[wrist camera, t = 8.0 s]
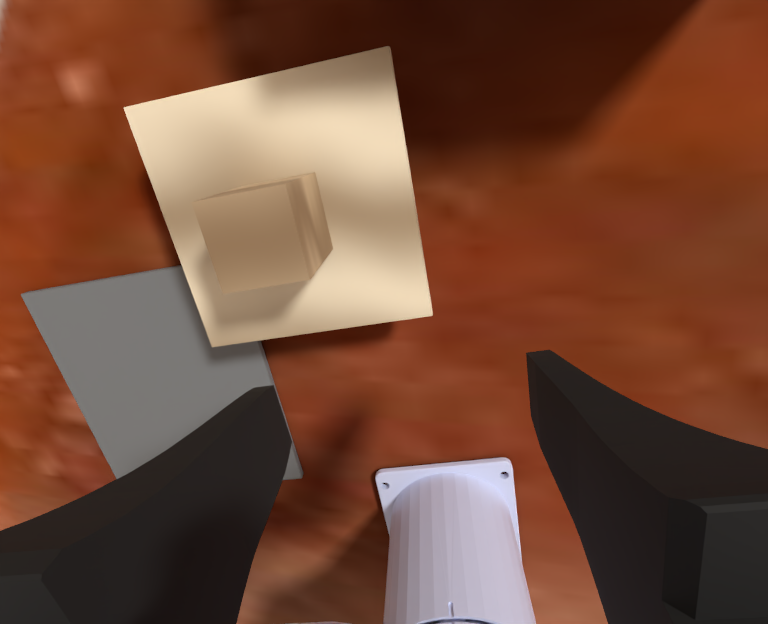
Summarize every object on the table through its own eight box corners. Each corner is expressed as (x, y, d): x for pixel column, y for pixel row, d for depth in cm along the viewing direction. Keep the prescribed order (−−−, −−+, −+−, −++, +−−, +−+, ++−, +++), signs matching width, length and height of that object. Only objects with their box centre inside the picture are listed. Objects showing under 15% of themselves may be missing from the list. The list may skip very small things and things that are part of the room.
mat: (303, 473, 27) (301, 478, 27) (128, 490, 29) (125, 495, 29) (233, 256, 22) (230, 258, 22) (26, 292, 24) (20, 294, 24)
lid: (432, 308, 19) (435, 361, 15) (219, 339, 21) (164, 396, 16) (390, 49, 16) (378, 17, 11) (136, 108, 17) (36, 100, 13)
